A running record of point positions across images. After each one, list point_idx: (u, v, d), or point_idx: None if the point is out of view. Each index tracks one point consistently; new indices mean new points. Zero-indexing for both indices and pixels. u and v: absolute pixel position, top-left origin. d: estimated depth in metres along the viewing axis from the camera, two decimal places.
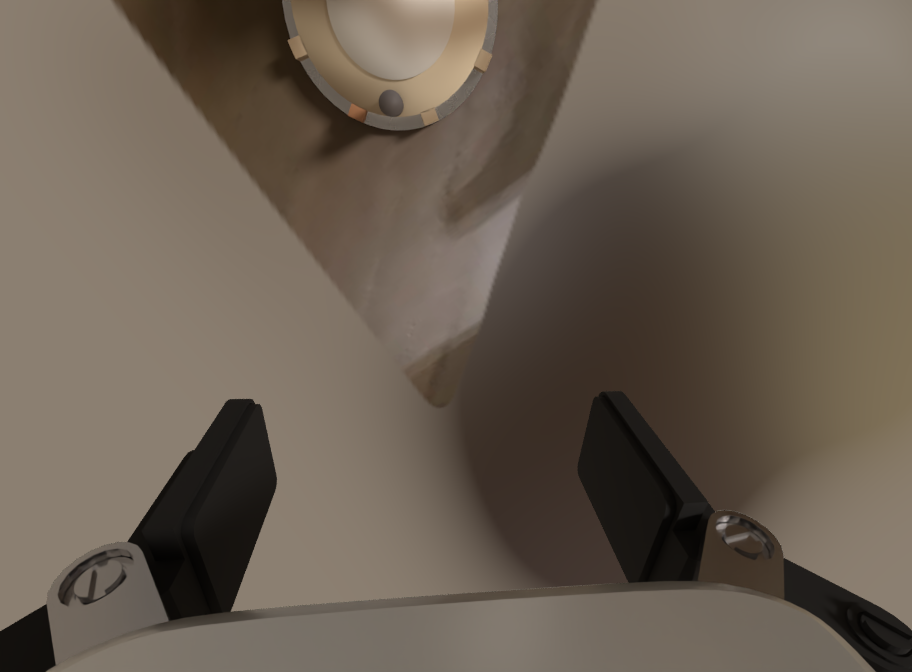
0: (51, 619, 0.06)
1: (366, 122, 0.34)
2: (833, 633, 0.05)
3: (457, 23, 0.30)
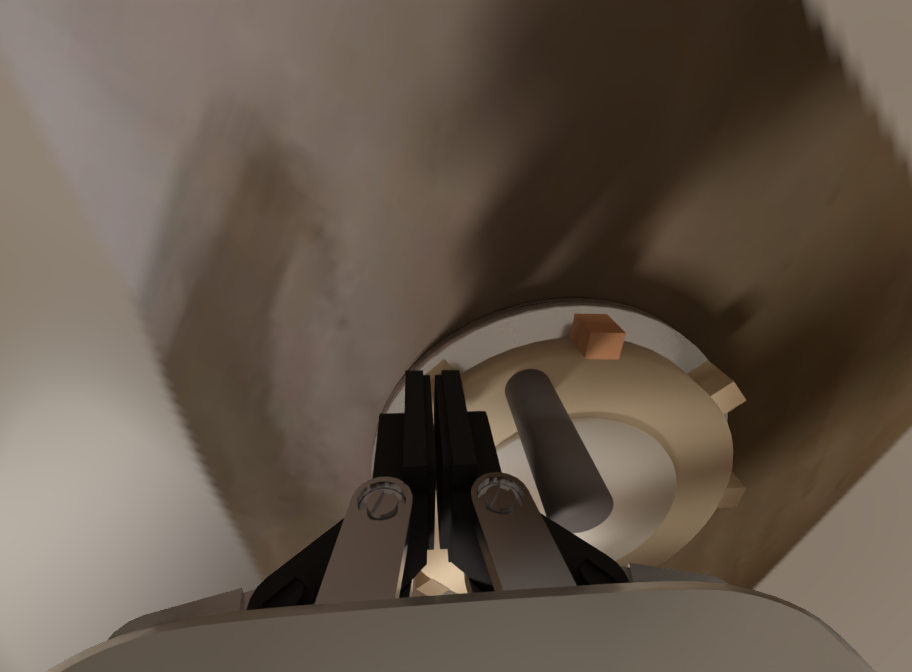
0: (366, 528, 0.08)
1: (566, 311, 0.15)
2: (833, 633, 0.05)
3: None
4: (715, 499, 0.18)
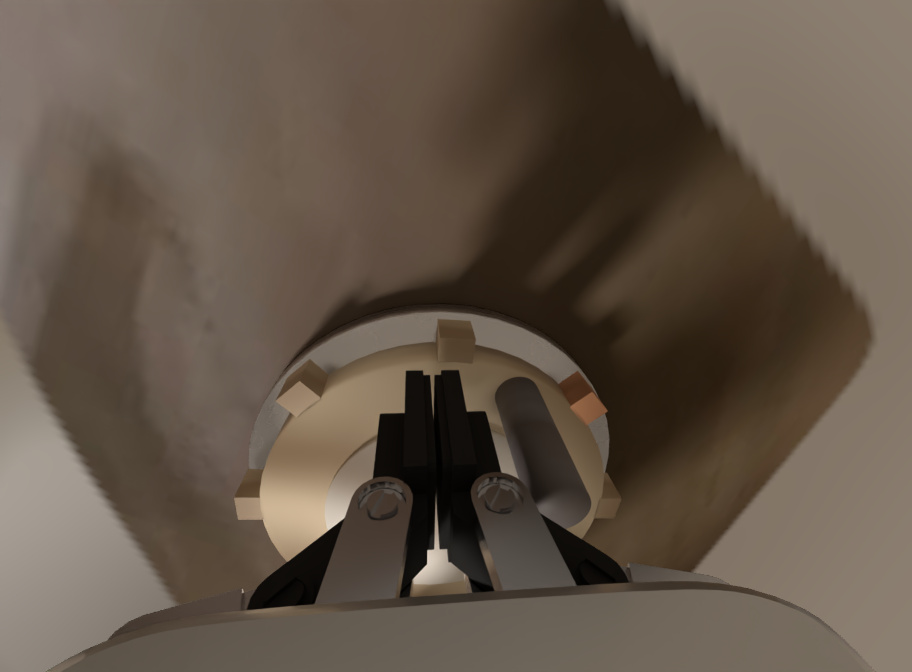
0: (366, 529, 0.08)
1: (424, 317, 0.15)
2: (833, 633, 0.05)
3: (333, 461, 0.16)
4: None
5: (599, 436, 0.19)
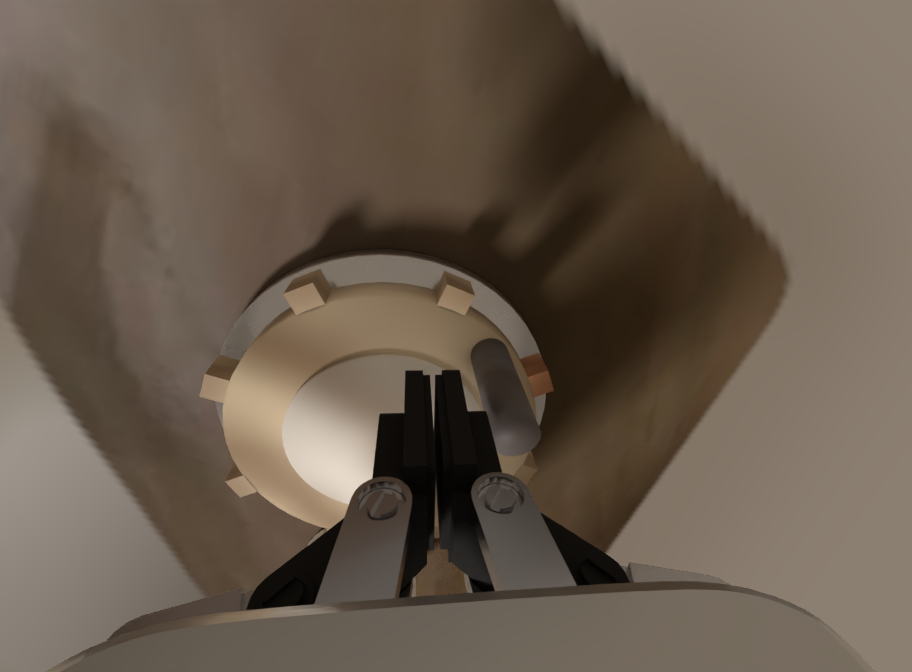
0: (366, 528, 0.08)
1: (363, 259, 0.17)
2: (833, 633, 0.05)
3: (312, 366, 0.17)
4: (437, 523, 0.22)
5: None
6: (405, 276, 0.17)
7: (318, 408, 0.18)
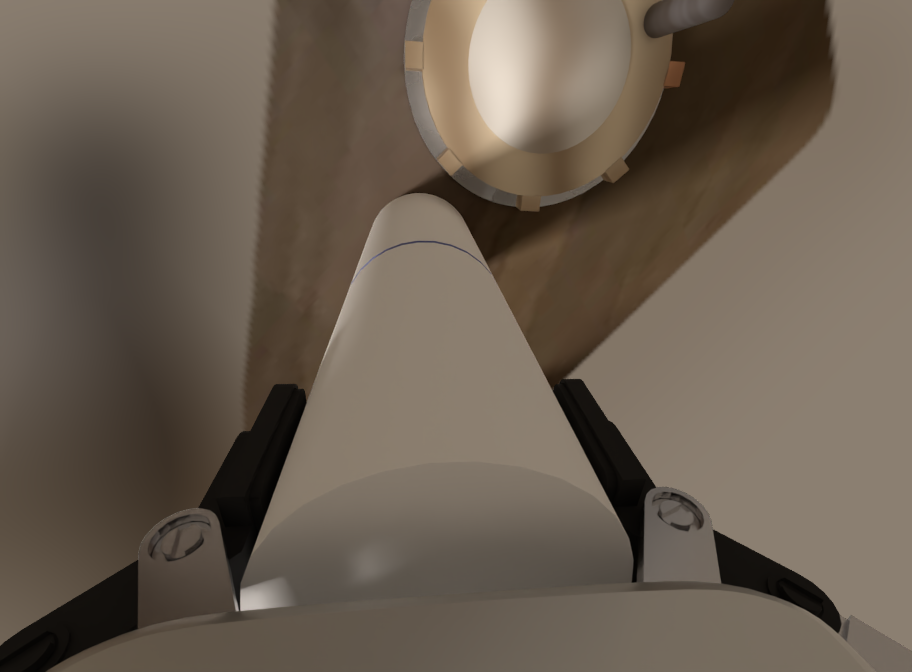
0: (145, 572, 0.07)
1: None
2: (833, 633, 0.05)
3: None
4: (532, 191, 0.26)
5: None
6: None
7: None
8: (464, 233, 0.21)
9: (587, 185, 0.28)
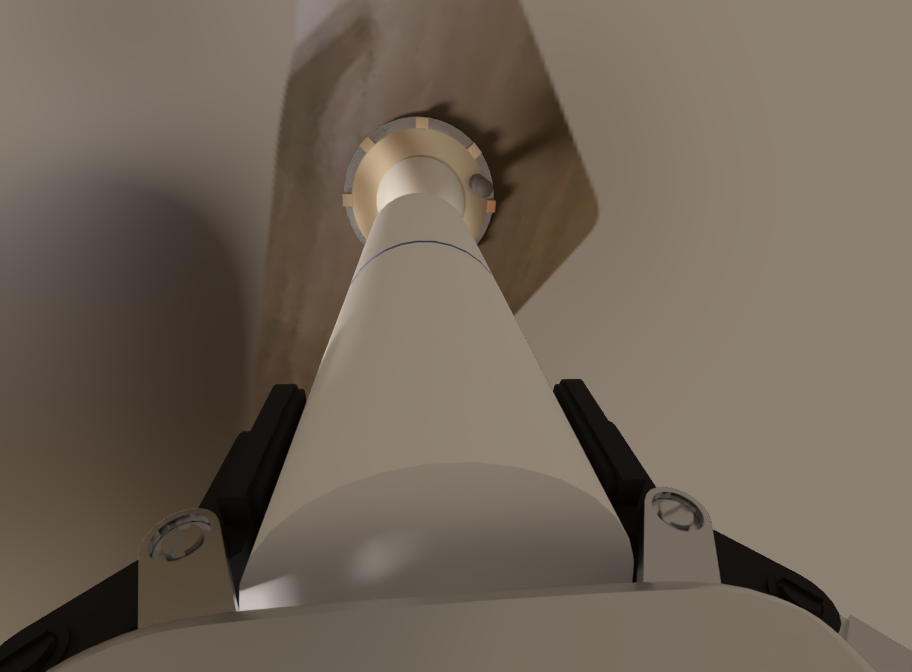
0: (146, 572, 0.07)
1: (444, 123, 0.41)
2: (833, 633, 0.05)
3: (409, 153, 0.41)
4: None
5: None
6: (456, 138, 0.42)
7: (403, 173, 0.41)
8: (464, 233, 0.21)
9: None
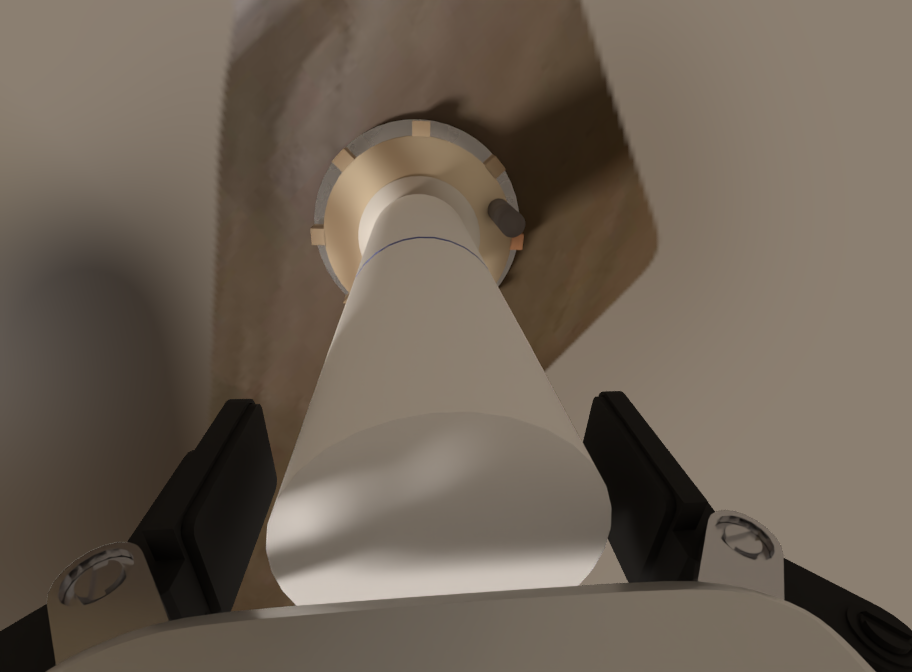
0: (51, 619, 0.06)
1: (452, 128, 0.29)
2: (833, 633, 0.05)
3: (403, 171, 0.29)
4: None
5: None
6: (469, 149, 0.30)
7: (394, 199, 0.29)
8: (462, 231, 0.22)
9: None
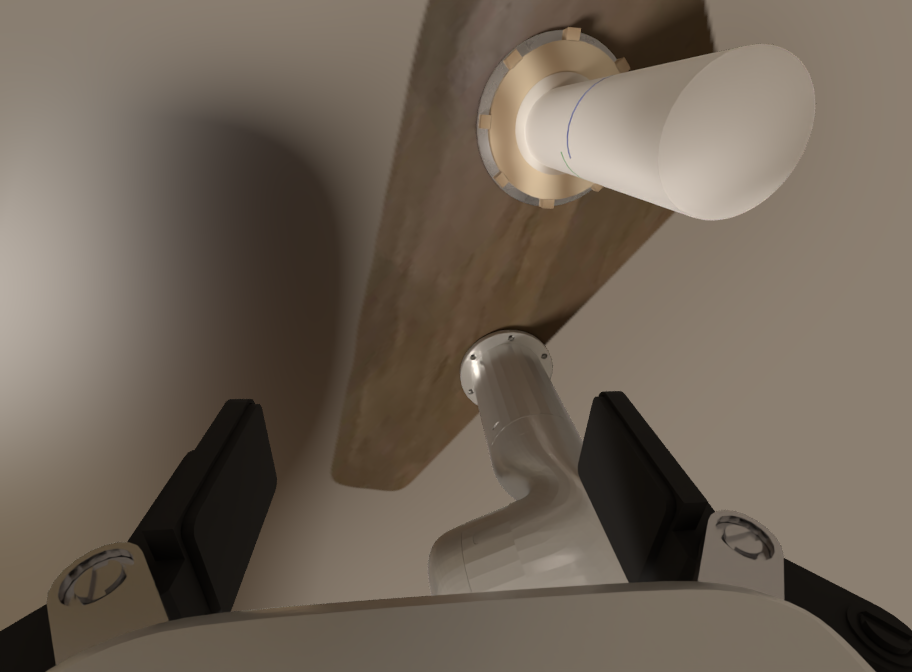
0: (51, 619, 0.06)
1: (590, 37, 0.39)
2: (833, 633, 0.05)
3: (556, 68, 0.39)
4: (549, 196, 0.44)
5: None
6: None
7: (547, 90, 0.39)
8: None
9: (582, 192, 0.46)
